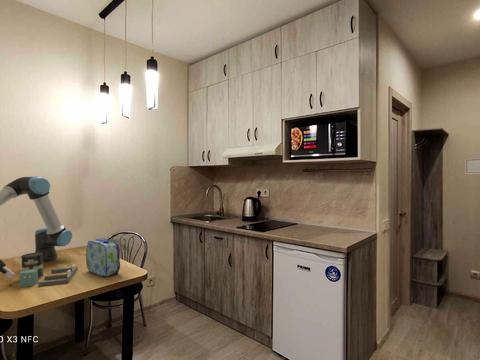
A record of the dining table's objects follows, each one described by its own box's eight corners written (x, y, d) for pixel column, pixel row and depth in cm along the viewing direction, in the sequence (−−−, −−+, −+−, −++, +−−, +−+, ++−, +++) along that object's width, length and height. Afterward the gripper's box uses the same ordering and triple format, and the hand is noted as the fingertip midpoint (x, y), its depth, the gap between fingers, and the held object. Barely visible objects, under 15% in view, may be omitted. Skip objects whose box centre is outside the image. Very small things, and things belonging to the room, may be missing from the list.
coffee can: (41, 279, 167) (41, 255, 167) (20, 282, 162) (19, 257, 162) (44, 274, 176) (43, 251, 176) (23, 277, 172) (23, 253, 172)
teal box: (23, 283, 160) (23, 270, 160) (38, 282, 162) (37, 269, 162) (19, 287, 155) (19, 273, 155) (34, 285, 157) (34, 272, 157)
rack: (52, 272, 179) (51, 264, 179) (77, 269, 183) (77, 261, 183) (38, 286, 156) (38, 277, 155) (67, 283, 160) (67, 273, 160)
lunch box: (122, 274, 173) (122, 240, 173) (105, 279, 164) (104, 243, 164) (101, 267, 189) (100, 235, 188) (84, 271, 180) (83, 238, 180)
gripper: (-25, 251, 156) (11, 277, 161) (-40, 257, 144) (0, 285, 149) (-14, 240, 158) (22, 267, 163) (-27, 245, 145) (12, 274, 150)
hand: (12, 276), depth 156 cm, fingers closed
